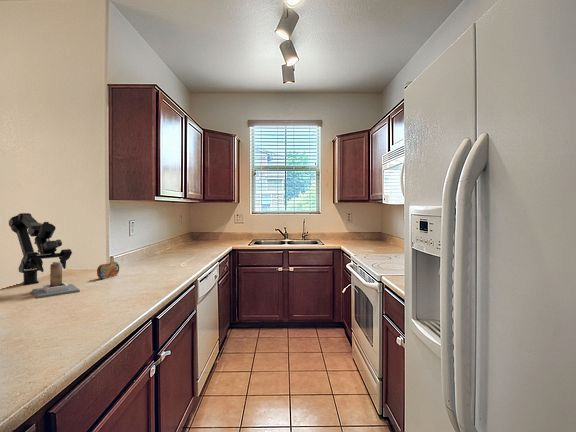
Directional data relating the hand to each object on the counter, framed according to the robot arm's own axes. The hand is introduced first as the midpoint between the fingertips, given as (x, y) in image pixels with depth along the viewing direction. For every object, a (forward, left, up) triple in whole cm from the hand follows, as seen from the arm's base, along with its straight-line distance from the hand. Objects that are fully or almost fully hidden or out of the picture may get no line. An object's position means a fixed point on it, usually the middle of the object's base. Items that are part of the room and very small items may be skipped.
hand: (54, 269), depth 156 cm
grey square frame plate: (+2, 0, -10) cm, 10 cm away
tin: (-16, +28, -10) cm, 34 cm away
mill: (+2, 0, -9) cm, 9 cm away
